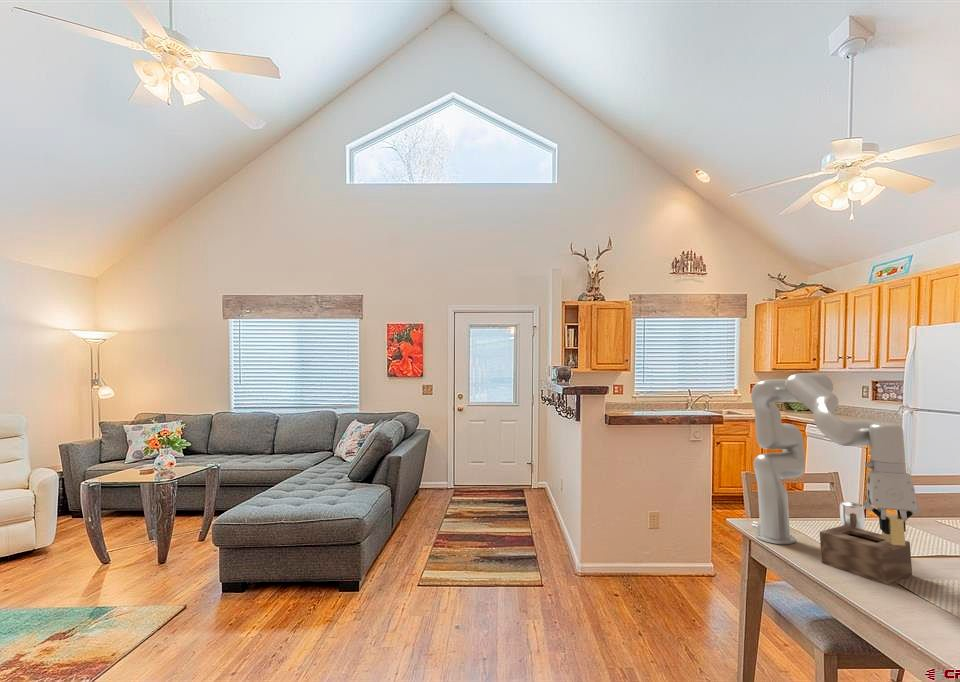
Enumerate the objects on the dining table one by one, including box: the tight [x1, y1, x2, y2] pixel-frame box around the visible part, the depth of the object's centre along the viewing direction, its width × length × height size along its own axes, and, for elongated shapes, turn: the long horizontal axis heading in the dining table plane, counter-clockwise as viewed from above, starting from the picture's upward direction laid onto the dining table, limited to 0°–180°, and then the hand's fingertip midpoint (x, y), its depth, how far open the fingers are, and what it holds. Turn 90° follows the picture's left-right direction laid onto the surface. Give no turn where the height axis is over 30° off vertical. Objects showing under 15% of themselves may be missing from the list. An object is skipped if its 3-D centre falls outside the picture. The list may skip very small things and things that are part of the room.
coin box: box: [819, 525, 913, 585], centre depth 152 cm, size 18×14×10 cm
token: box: [881, 512, 906, 546], centre depth 135 cm, size 6×3×7 cm, turn 160°
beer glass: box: [839, 501, 866, 530], centre depth 170 cm, size 7×7×15 cm
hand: (892, 532), depth 135 cm, fingers closed on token, 2 cm apart
